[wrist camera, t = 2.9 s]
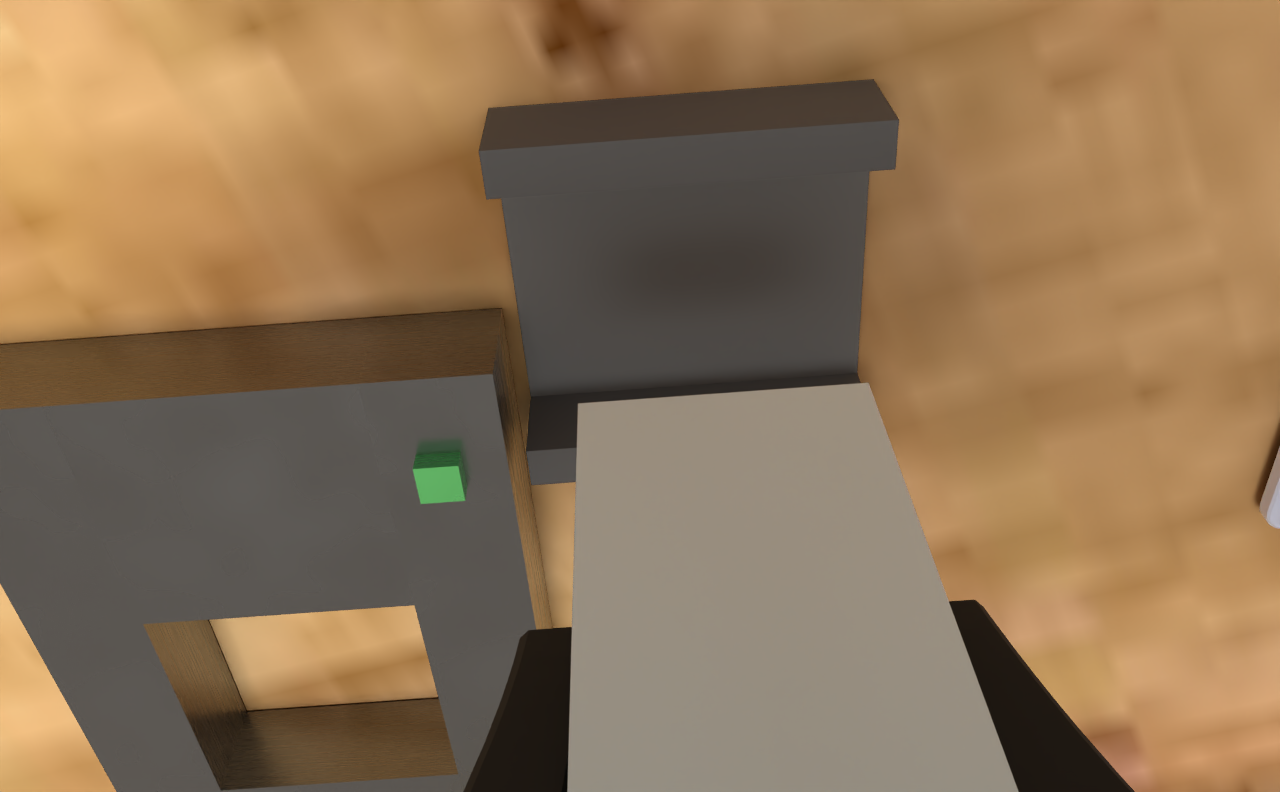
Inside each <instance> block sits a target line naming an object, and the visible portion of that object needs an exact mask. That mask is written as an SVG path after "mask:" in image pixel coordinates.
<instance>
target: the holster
mask: <svg viewBox="0 0 1280 792" xmlns="http://www.w3.org/2000/svg"><path fill="white" fill-rule="evenodd" d="M898 126H899V119H898V117H897V116H896V114H895V113H894V111H893V110H892V108H891V106H890V105H889V103H888V102H887V100H886V98H885V97H884V95H883V94H882V92H881V91H880V89H879V87H878V86H877V84H876V83H875V81H874V79H872V80H858V81H845V82H831V83H818V84H805V85H791V86H778V87H764V88H751V89H738V90H724V91H711V92H697V93H684V94H671V95H657V96H644V97H630V98H617V99H604V100H590V101H577V102H563V103H550V104H537V105H523V106H510V107H497V108H489V109H488V113H487V117H486V122H485V126H484V130H483V135H482V139H481V144H480V148H479V156H480V162H481V168H482V175H483V181H484V187H485V194H486V199H499V198H501V200H502V207H503V213H504V220H505V227H506V233H507V240H508V247H509V253H510V260H511V267H512V274H513V280H514V287H515V294H516V300H517V307H518V314H519V321H520V327H521V334H522V341H523V347H524V354H525V361H526V367H527V374H528V381H529V388H530V394H531V401H530V413H529V424H528V436H527V447H526V454H527V460H528V466H529V473H530V479H531V485H541V484H555V483H569V482H576V459H577V423H578V403H592V402H606V401H620V400H634V399H648V398H662V397H676V396H690V395H704V394H718V393H732V392H746V391H759V390H773V389H787V388H801V387H815V386H829V385H843V384H857V383H860V380H859V377H858V374H857V367H858V350H859V333H860V317H861V300H862V284H863V267H864V250H865V234H866V217H867V201H868V184H869V171H879V170H892V169H895V167H896V153H897V140H898Z"/></svg>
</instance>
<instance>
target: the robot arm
mask: <svg viewBox="0 0 1280 792" xmlns="http://www.w3.org/2000/svg"><path fill="white" fill-rule="evenodd" d="M1260 512H1261V514H1262V516H1263V517H1264V518H1265V520H1266V521H1267V522H1268V523H1269V525H1271V526H1273V527H1275V528H1280V447H1279V450H1278V453H1277V456H1276V459H1275V462H1274V465H1273V467H1272V470H1271V473H1270V476H1269V479H1268V482H1267V485H1266V488H1265V491H1264V494H1263V496H1262V499H1261V502H1260ZM949 604H950V606H951V609H952V612H953V614H954V617H955V620H956V623H957V625H958V628H959V631H960V634H961V636H962V639H963V642H964V644H965V647H966V650H967V653H968V655H969V658H970V661H971V664H972V666H973V669H974V672H975V674H976V677H977V680H978V683H979V685H980V688H981V691H982V694H983V696H984V699H985V702H986V704H987V707H988V710H989V713H990V715H991V718H992V721H993V723H994V726H995V729H996V732H997V734H998V737H999V740H1000V743H1001V745H1002V748H1003V751H1004V753H1005V756H1006V759H1007V762H1008V764H1009V767H1010V770H1011V773H1012V775H1013V778H1014V781H1015V783H1016V786H1017V789H1018V792H1135V791H1134V790H1133V789H1132V788H1131V787H1130V786H1129V785H1128V784H1127V783H1126V782H1125V781H1124V779H1123V778H1122V777H1121V776H1120V775H1119V774H1118V773H1117V772H1116V770H1115V769H1114V768H1113V767H1112V766H1111V765H1110V764H1109V762H1108V761H1107V760H1106V759H1105V758H1104V757H1103V756H1102V754H1101V753H1100V752H1099V751H1098V750H1097V749H1096V748H1095V746H1094V745H1093V744H1092V743H1091V742H1090V741H1089V740H1088V738H1087V737H1086V736H1085V735H1084V734H1083V733H1082V732H1081V730H1080V729H1079V728H1078V727H1077V726H1076V725H1075V723H1074V722H1073V721H1072V720H1071V719H1070V717H1069V716H1068V715H1067V714H1066V713H1065V711H1064V710H1063V709H1062V708H1061V707H1060V705H1059V704H1058V703H1057V702H1056V700H1055V699H1054V698H1053V697H1052V696H1051V694H1050V693H1049V692H1048V691H1047V689H1046V688H1045V687H1044V686H1043V684H1042V683H1041V682H1040V681H1039V679H1038V678H1037V677H1036V676H1035V674H1034V673H1033V672H1032V671H1031V669H1030V668H1029V667H1028V665H1027V664H1026V663H1025V662H1024V660H1023V659H1022V658H1021V656H1020V655H1019V654H1018V653H1017V651H1016V650H1015V649H1014V647H1013V646H1012V645H1011V643H1010V642H1009V641H1008V639H1007V638H1006V637H1005V635H1004V634H1003V633H1002V631H1001V630H1000V629H999V627H998V626H997V625H996V623H995V622H994V621H993V619H992V618H991V617H990V615H989V614H988V612H987V611H986V610H985V608H984V607H983V606H982V605H980V604H979V603H978V602H977V601H976V600H964V601H950V602H949ZM571 642H572V627H566V628H551V629H537V630H528V631H527V632H526V633H525V634H524V635H523V636H521V637H520V639H519V643H518V647H517V651H516V655H515V658H514V662H513V665H512V668H511V671H510V675H509V678H508V681H507V684H506V687H505V690H504V693H503V696H502V698H501V701H500V704H499V707H498V709H497V712H496V715H495V717H494V720H493V722H492V725H491V728H490V730H489V733H488V735H487V738H486V740H485V743H484V745H483V748H482V750H481V752H480V754H479V757H478V759H477V761H476V764H475V766H474V768H473V770H472V773H471V775H470V777H469V780H468V782H467V784H466V787H465V789H464V791H463V792H567V788H568V751H569V715H570V678H571Z"/></svg>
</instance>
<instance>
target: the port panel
mask: <svg viewBox="0 0 1280 792" xmlns="http://www.w3.org/2000/svg"><path fill="white" fill-rule="evenodd" d="M0 584H1V585H2V587H3V589H4V591H5V593H6V594H7V596H8V598H9V600H10V602H11V603H12V605H13V607H14V609H15V610H16V612H17V614H18V616H19V618H20V619H21V621H22V623H23V625H24V627H25V628H26V630H27V632H28V634H29V636H30V637H31V639H32V641H33V643H34V645H35V646H36V648H37V650H38V652H39V653H40V655H41V657H42V659H43V661H44V662H45V664H46V666H47V668H48V670H49V671H50V673H51V675H52V677H53V679H54V680H55V682H56V684H57V686H58V688H59V689H60V691H61V693H62V695H63V696H64V698H65V700H66V702H67V704H68V705H69V707H70V709H71V711H72V713H73V714H74V716H75V718H76V720H77V722H78V723H79V725H80V727H81V729H82V731H83V732H84V734H85V736H86V738H87V739H88V741H89V743H90V745H91V747H92V748H93V750H94V752H95V754H96V756H97V757H98V759H99V761H100V763H101V765H102V766H103V768H104V770H105V772H106V773H107V775H108V777H109V779H110V781H111V782H112V784H113V786H114V788H115V790H116V791H117V792H463V791H464V789H465V787H466V784H467V782H468V780H469V777H470V775H471V773H472V770H473V768H474V766H475V764H476V761H477V759H478V757H479V754H480V752H481V750H482V748H483V745H484V743H485V740H486V738H487V735H488V733H489V730H490V728H491V725H492V722H493V720H494V717H495V715H496V712H497V709H498V707H499V704H500V701H501V698H502V696H503V693H504V690H505V687H506V684H507V681H508V678H509V675H510V671H511V668H512V665H513V662H514V658H515V655H516V651H517V647H518V643H519V639H520V637H521V636H523V635H524V634H525V633H526V632H527V631H528V630H537V629H551V628H552V621H551V615H550V609H549V603H548V596H547V590H546V584H545V577H544V571H543V565H542V558H541V552H540V546H539V540H538V533H537V527H536V521H535V514H534V508H533V502H532V495H531V489H530V483H529V477H528V470H527V464H526V458H525V451H524V445H523V439H522V432H521V426H520V420H519V414H518V407H517V401H516V395H515V388H514V382H513V376H512V370H511V363H510V357H509V351H508V344H507V338H506V332H505V325H504V319H503V313H502V308H501V309H487V310H473V311H459V312H446V313H432V314H418V315H405V316H391V317H377V318H363V319H350V320H336V321H322V322H308V323H295V324H281V325H267V326H254V327H240V328H226V329H212V330H199V331H185V332H171V333H158V334H144V335H130V336H116V337H103V338H89V339H75V340H62V341H48V342H34V343H20V344H7V345H0ZM409 605H415V608H416V612H417V616H418V620H419V624H420V628H421V632H422V635H423V639H424V643H425V647H426V651H427V655H428V659H429V663H430V666H431V670H432V674H433V678H434V682H435V686H436V690H437V693H438V697H439V699H425V700H411V701H396V702H382V703H367V704H353V705H339V706H324V707H310V708H295V709H281V710H267V711H252V712H246V710H245V707H244V705H243V702H242V700H241V698H240V695H239V693H238V690H237V688H236V686H235V683H234V681H233V678H232V676H231V674H230V671H229V669H228V666H227V664H226V662H225V659H224V657H223V654H222V652H221V650H220V647H219V645H218V642H217V640H216V638H215V635H214V633H213V630H212V628H211V626H210V623H209V621H208V620H210V619H224V618H238V617H252V616H267V615H281V614H295V613H309V612H323V611H338V610H352V609H366V608H380V607H395V606H409Z"/></svg>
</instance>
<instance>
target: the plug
mask: <svg viewBox="0 0 1280 792" xmlns="http://www.w3.org/2000/svg"><path fill="white" fill-rule="evenodd" d="M567 792H1018V789H1017V786H1016V783H1015V781H1014V778H1013V775H1012V773H1011V770H1010V767H1009V764H1008V762H1007V759H1006V756H1005V753H1004V751H1003V748H1002V745H1001V743H1000V740H999V737H998V734H997V732H996V729H995V726H994V723H993V721H992V718H991V715H990V713H989V710H988V707H987V704H986V702H985V699H984V696H983V694H982V691H981V688H980V685H979V683H978V680H977V677H976V674H975V672H974V669H973V666H972V664H971V661H970V658H969V655H968V653H967V650H966V647H965V644H964V642H963V639H962V636H961V634H960V631H959V628H958V625H957V623H956V620H955V617H954V614H953V612H952V609H951V606H950V604H949V601H948V598H947V595H946V593H945V590H944V587H943V584H942V582H941V579H940V576H939V574H938V571H937V568H936V565H935V563H934V560H933V557H932V555H931V552H930V549H929V546H928V544H927V541H926V538H925V535H924V533H923V530H922V527H921V525H920V522H919V519H918V516H917V514H916V511H915V508H914V505H913V503H912V500H911V497H910V495H909V492H908V489H907V486H906V484H905V481H904V478H903V475H902V473H901V470H900V467H899V465H898V462H897V459H896V456H895V454H894V451H893V448H892V445H891V443H890V440H889V437H888V435H887V432H886V429H885V426H884V424H883V421H882V418H881V416H880V413H879V410H878V407H877V405H876V402H875V399H874V396H873V394H872V391H871V388H870V386H869V383H857V384H843V385H829V386H815V387H801V388H787V389H773V390H759V391H746V392H732V393H718V394H704V395H690V396H676V397H662V398H648V399H634V400H620V401H606V402H592V403H578V423H577V459H576V496H575V532H574V569H573V605H572V642H571V678H570V715H569V751H568V788H567Z"/></svg>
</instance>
